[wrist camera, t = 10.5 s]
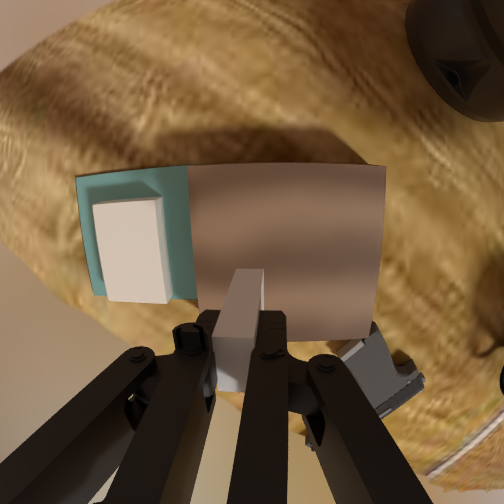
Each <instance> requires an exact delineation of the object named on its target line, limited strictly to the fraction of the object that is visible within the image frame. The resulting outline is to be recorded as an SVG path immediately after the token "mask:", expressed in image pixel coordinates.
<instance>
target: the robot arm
mask: <svg viewBox="0 0 504 504" xmlns="http://www.w3.org/2000/svg"><path fill="white" fill-rule="evenodd" d="M406 31H407V36H408V40H409V44H410V47H411V50H412V52H413V55H414V57H415V59H416V61H417V63H418V65H419V67H420V69H421V71H422V72H423V74H424V75H425V77H426V78H427V80H428V81H429V83H430V84H431V85H432V87H433V88H434V89H435V90H436V92H437V93H438V94H439V95H440V96H441V97H442V98H443V99H444V100H445V101H446V102H447V103H448V104H449V105H450V106H452V107H453V108H454V109H456V110H457V111H458V112H460V113H461V114H463V115H465V116H467V117H469V118H471V119H473V120H476V121H480V122H502V121H504V0H411V2H410V4H409V6H408V9H407V13H406ZM172 332H173V338H174V343H175V351H174V353H173V354H169V355H161V356H155V353H154V352H153V350H152V349H150V348H148V347H143V346H140V347H134V348H130V349H129V350H127V351H125V352H124V353H123V354H122V355H121V356H119V357H118V358H117V359H116V360H115V361H114V362H113V363H112V364H110V365H109V366H108V367H107V368H106V369H105V370H104V371H103V372H101V373H100V374H99V375H98V376H97V377H96V378H95V379H94V380H93V381H91V382H90V383H89V384H88V385H87V386H86V387H85V388H83V389H82V390H81V391H80V392H79V393H78V394H77V395H76V396H75V397H73V398H72V399H71V400H70V401H69V402H68V403H67V404H66V405H64V406H63V407H62V408H61V409H60V410H59V411H58V412H57V413H56V414H54V415H53V416H52V417H51V418H50V419H49V420H48V421H47V422H46V423H44V424H43V425H42V426H41V427H40V428H39V429H38V430H37V431H36V432H34V433H33V434H32V435H31V436H30V437H29V438H28V439H27V440H26V441H24V443H22V444H21V445H20V446H19V447H18V448H17V449H16V450H15V451H13V452H12V453H11V454H10V455H9V456H8V457H7V458H6V459H5V460H4V461H3V462H1V463H0V504H88V503H89V501H90V500H91V499H92V498H93V497H94V496H95V494H96V493H97V492H98V491H99V490H100V488H101V487H102V486H103V485H104V483H105V482H106V481H107V480H108V479H109V478H110V476H111V475H112V474H113V473H114V472H115V470H116V469H117V468H118V467H119V468H118V471H117V473H116V475H115V477H114V480H113V482H112V484H111V486H110V488H109V490H108V493H107V495H106V497H105V499H104V500H103V501H102V502H97V503H93V504H190V501H191V497H192V493H193V489H194V485H195V481H196V477H197V473H198V469H199V465H200V461H201V457H202V453H203V449H204V445H205V441H206V437H207V433H208V429H209V425H210V421H211V418H212V414H213V410H214V406H215V402H216V394H215V388H216V384H217V386H218V391H228V392H245V396H244V402H243V408H242V415H241V421H240V427H239V433H238V439H237V445H236V451H235V458H234V464H233V470H232V476H231V481H230V487H229V493H228V499H227V504H287V480H288V411H290V412H294V413H298V414H302V419H303V421H304V424H305V427H306V429H307V432H308V434H309V437H310V439H311V442H312V444H313V447H314V450H315V452H316V455H317V457H318V460H319V462H320V465H321V467H322V470H323V472H324V475H325V477H326V480H327V482H328V485H329V487H330V490H331V492H332V495H333V497H334V500H335V502H336V504H433V502H432V501H431V499H430V498H429V496H428V494H427V493H426V491H425V489H424V488H423V486H422V484H421V483H420V481H419V480H418V478H417V477H416V475H415V473H414V472H413V470H412V468H411V467H410V465H409V463H408V462H407V460H406V459H405V457H404V455H403V454H402V452H401V451H400V449H399V447H398V446H397V444H396V443H395V441H394V440H393V438H392V436H391V435H390V433H389V432H388V430H387V428H386V427H385V425H384V424H383V422H382V421H381V419H380V417H379V416H378V414H377V413H376V411H375V410H374V408H373V407H372V405H371V403H370V402H369V400H368V399H367V397H366V396H365V394H364V393H363V391H362V389H361V388H360V386H359V385H358V383H357V382H356V380H355V379H354V377H353V375H352V374H351V372H350V371H349V369H348V368H347V366H346V365H345V363H344V362H343V361H342V360H341V359H340V358H339V357H336V356H334V355H330V354H320V355H316V356H314V357H312V358H311V359H309V361H308V362H306V361H302V360H298V359H296V358H294V357H292V356H291V355H290V354H289V352H288V350H287V324H286V315H285V314H284V313H283V312H282V310H264V269H236V270H235V273H234V276H233V278H232V281H231V284H230V287H229V290H228V292H227V295H226V298H225V301H224V303H223V306H222V309H221V310H209V309H206V310H204V311H203V312H202V313H201V314H199V316H198V318H197V320H196V322H195V323H194V322H193V323H184V324H180V325H179V326H177V327H175V328H174V329H173V330H172ZM132 394H133V397H132V398H130V399H129V400H128V398H129V397H130V396H131V395H132Z"/></svg>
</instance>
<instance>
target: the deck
mask: <svg viewBox="0 0 504 504" xmlns="http://www.w3.org/2000/svg"><path fill="white" fill-rule="evenodd" d="M187 169H188V188H189V204H190V219H191V232H192V245H193V256H194V267H195V278H196V287H197V297H198V306H199V314H201V313H202V312H203V311H204V310H206V309H209V310H221V309H222V306H223V303H224V301H225V298H226V295H227V292H228V290H229V287H230V284H231V281H232V278H233V276H234V273H235V270H236V269H264V310H282V312H283V313H284V314H285V315H286V324H287V342H296V341H327V340H346V339H362V338H369V333H370V328H371V322H372V316H373V310H374V304H375V297H376V290H377V283H378V275H379V267H380V258H381V248H382V238H383V225H384V211H385V191H386V166H379V165H371V164H354V163H329V162H244V163H218V164H200V165H193V166H187Z"/></svg>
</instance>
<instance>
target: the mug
mask: <svg viewBox="0 0 504 504" xmlns="http://www.w3.org/2000/svg"><path fill="white" fill-rule="evenodd" d="M500 389H501V391H502V393H503V395H504V366H503V369H502V371H501V375H500Z"/></svg>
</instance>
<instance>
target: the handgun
mask: <svg viewBox="0 0 504 504" xmlns="http://www.w3.org/2000/svg"><path fill="white" fill-rule="evenodd" d="M337 356H338V357H339V358H340V359H341V360H342V361H343V362H344V363H345V365H346V366H347V368H348V369H349V370H350V372H351V373H352V375H353V376H354V378H355V380H356V382H357V383H358V385H359V386H360V388H361V389H362V391H363V393H364V394H365V396H366V397H367V399H368V400H369V402H370V403H371V405H372V407H373V408H374V410H375V411H376V413H377V414H378V416H379V417H380V419H383V418H384V417H386V416H387V415H389V414H390V413H391V412H393V411H394V410H396V409H397V408H398V407H400V406H401V405H403V404H404V403H405V402H407V401H408V400H409V399H411V398H412V397H413V396H414V395H416V394H417V393H418V392H419V393H421V392H422V389H423V388H424V384H423V383H424V382H425V381H426V380H425V377H424V375H423V373H421V372H420V373H419V372H418V370H417V368H416V366H415V364H414V362H413V360H412V359H411V360H410V361H409V362H408V363H406V364H405V365H404V366H397V365H394V363H393V361H392V358H391V355H390V352H389V349H388V347H387V345H386V342H385V340H384V338H383V336H382V334H381V332H380V330H379V328H378V327H377V325H376V323H374V322H372V323H371V328H370V333H369V338H362V339H351V340H350V341H348V342H347V343H346V344H345V345H344V346H343V347H342V348H341V349H339V350H338V351H337ZM305 445H306V446H308V447H310V448H311V449H312V451H315V450H314V447H313V444H312V442H311V439H310V437H309V436H307V437H305Z"/></svg>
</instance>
